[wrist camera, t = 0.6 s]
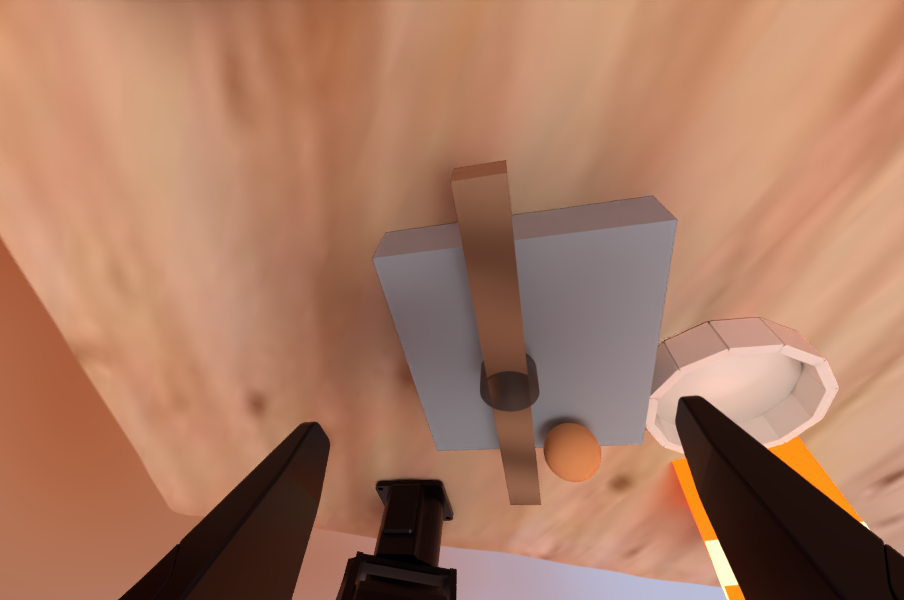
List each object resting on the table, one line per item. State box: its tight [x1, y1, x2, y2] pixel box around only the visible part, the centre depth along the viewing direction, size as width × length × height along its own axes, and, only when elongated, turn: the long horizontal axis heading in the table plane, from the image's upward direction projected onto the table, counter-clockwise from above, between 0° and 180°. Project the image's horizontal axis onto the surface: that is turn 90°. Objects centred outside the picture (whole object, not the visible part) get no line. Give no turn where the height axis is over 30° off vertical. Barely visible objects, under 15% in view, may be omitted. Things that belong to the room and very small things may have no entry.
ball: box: [544, 423, 601, 482], centre depth 24 cm, size 3×3×3 cm
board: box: [372, 196, 677, 451], centre depth 23 cm, size 16×14×4 cm
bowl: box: [645, 317, 839, 454], centre depth 24 cm, size 10×10×2 cm
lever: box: [450, 160, 541, 505], centre depth 20 cm, size 22×3×2 cm, turn 11°
